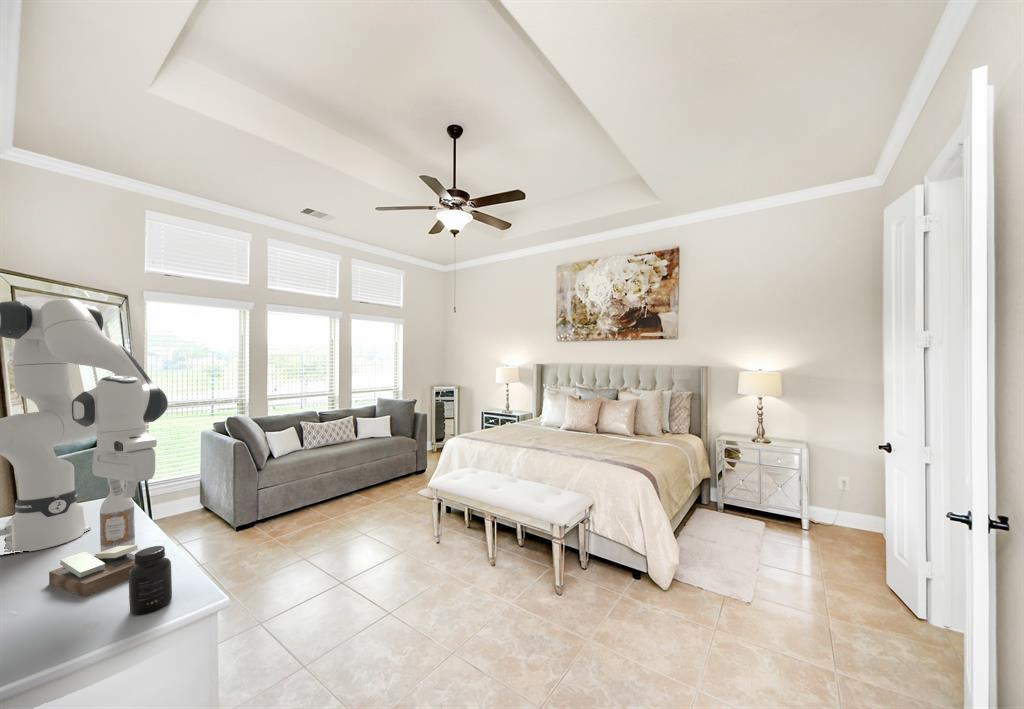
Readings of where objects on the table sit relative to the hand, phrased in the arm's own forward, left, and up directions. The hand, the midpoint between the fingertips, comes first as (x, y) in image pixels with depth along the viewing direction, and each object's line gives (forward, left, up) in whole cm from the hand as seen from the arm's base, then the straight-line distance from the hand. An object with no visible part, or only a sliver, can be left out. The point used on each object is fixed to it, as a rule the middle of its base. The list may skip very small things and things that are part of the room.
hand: (122, 496), depth 102 cm
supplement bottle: (+24, -6, -19) cm, 31 cm away
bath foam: (-18, +7, -19) cm, 27 cm away
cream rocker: (-3, 0, -15) cm, 15 cm away
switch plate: (-3, -3, -19) cm, 20 cm away
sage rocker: (-3, -6, -15) cm, 17 cm away
